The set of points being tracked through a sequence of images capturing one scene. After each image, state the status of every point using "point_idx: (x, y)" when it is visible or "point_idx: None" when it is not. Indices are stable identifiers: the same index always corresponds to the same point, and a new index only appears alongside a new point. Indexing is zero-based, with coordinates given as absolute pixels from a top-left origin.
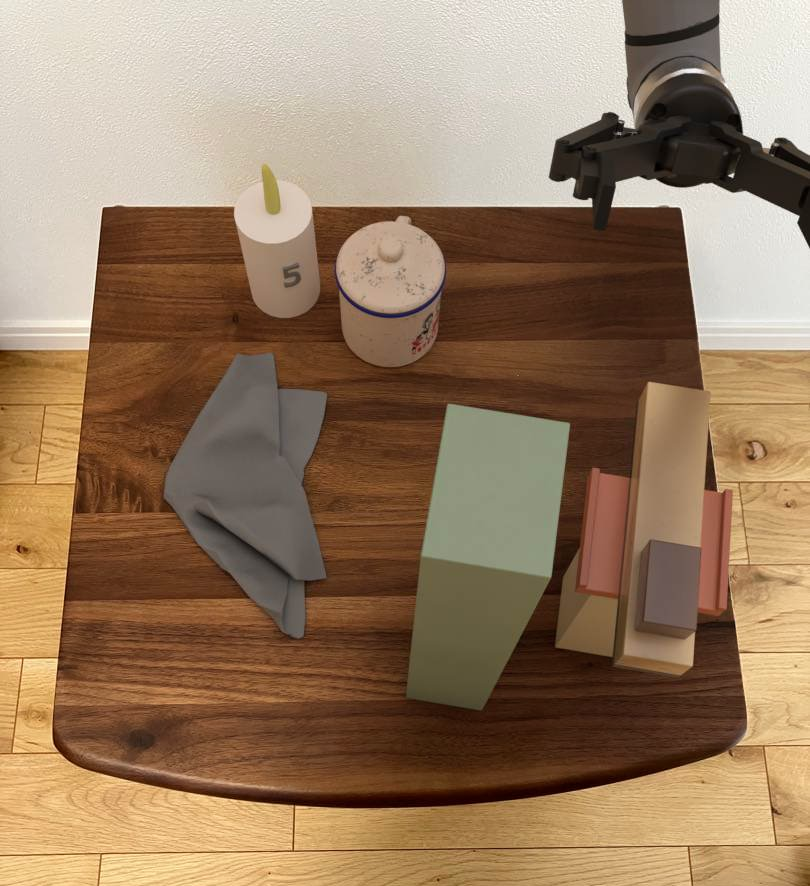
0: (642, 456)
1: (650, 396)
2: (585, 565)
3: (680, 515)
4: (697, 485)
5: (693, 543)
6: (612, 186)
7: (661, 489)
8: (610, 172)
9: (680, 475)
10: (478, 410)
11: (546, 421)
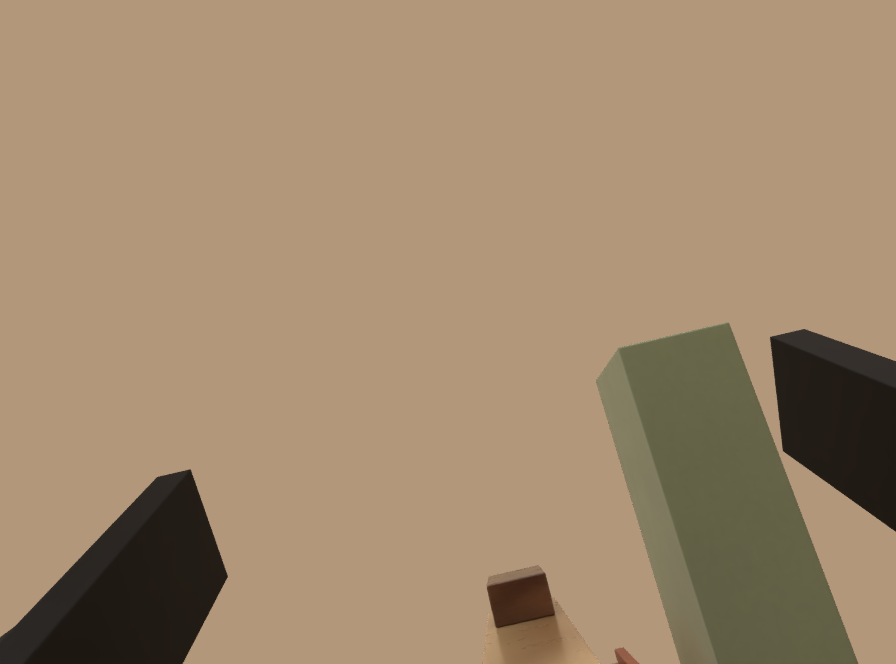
0: (579, 635)
1: (591, 660)
2: (623, 653)
3: (513, 634)
4: (493, 648)
5: (494, 632)
6: (778, 335)
7: (543, 634)
8: (860, 364)
9: (519, 644)
10: (699, 329)
11: (638, 344)
